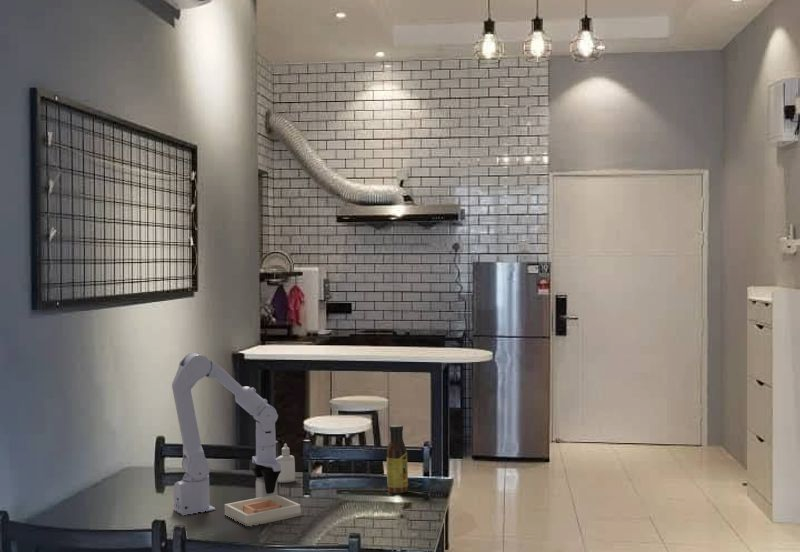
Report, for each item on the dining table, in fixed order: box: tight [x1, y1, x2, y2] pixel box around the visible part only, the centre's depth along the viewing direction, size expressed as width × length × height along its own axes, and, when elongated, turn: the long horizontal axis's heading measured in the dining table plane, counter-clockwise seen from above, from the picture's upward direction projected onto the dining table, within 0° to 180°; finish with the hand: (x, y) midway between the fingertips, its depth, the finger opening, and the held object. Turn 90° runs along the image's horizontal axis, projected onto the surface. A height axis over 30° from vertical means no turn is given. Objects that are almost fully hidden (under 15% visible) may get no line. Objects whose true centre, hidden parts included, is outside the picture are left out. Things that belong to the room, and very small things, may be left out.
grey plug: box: [255, 477, 279, 498], centre depth 245 cm, size 5×4×6 cm
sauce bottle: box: [386, 424, 409, 495], centre depth 252 cm, size 7×6×20 cm
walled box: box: [224, 494, 302, 527], centre depth 230 cm, size 16×14×3 cm
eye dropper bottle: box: [277, 443, 296, 484], centre depth 267 cm, size 4×6×12 cm
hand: (266, 491), depth 245 cm, fingers closed on grey plug, 4 cm apart
